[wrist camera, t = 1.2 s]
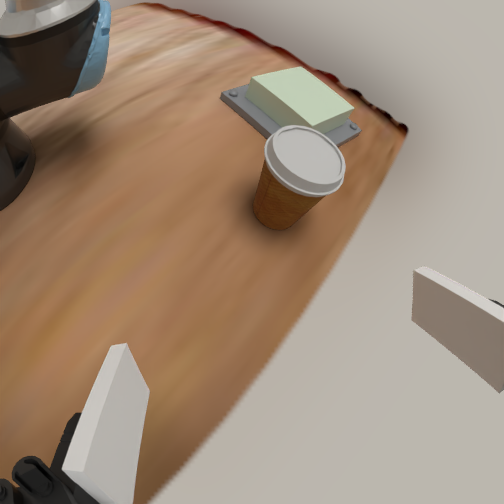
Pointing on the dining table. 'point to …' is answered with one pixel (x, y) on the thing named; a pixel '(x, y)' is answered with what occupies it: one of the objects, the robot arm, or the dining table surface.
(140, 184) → the dining table surface
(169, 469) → the dining table surface
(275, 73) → the tower base
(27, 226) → the dining table surface
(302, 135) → the disposable coffee cup
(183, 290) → the dining table surface
